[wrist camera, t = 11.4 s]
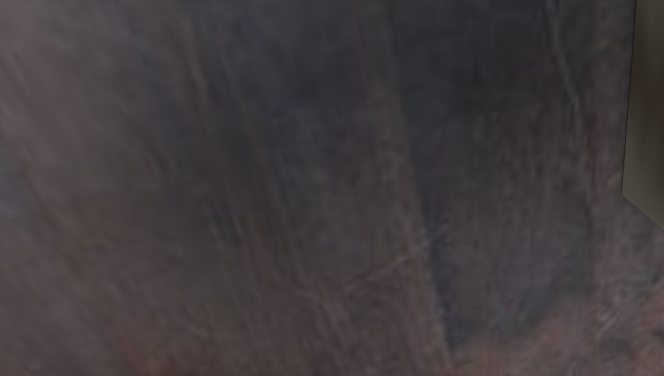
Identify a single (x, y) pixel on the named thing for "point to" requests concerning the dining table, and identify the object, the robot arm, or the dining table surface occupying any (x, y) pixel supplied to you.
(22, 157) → the dining table surface
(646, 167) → the cubby lane
